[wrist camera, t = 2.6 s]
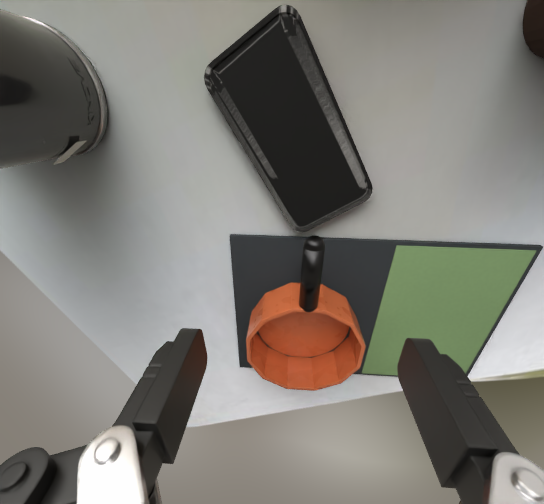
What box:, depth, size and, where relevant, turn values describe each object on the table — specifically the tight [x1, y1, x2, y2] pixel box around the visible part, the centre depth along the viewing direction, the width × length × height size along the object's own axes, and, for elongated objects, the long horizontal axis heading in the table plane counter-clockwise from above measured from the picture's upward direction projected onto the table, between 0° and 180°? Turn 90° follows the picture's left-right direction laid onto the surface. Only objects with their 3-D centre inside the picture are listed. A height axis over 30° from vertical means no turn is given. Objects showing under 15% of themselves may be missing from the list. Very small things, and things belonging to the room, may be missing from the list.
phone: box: [204, 5, 372, 232], centre depth 21 cm, size 8×1×15 cm
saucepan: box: [246, 236, 366, 391], centre depth 26 cm, size 12×19×4 cm, turn 0°
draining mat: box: [230, 234, 543, 377], centre depth 30 cm, size 30×20×1 cm, turn 90°
